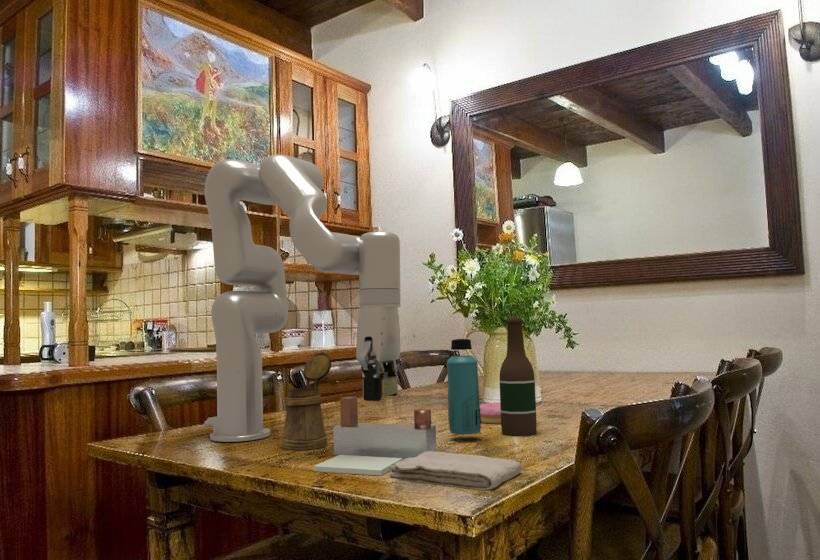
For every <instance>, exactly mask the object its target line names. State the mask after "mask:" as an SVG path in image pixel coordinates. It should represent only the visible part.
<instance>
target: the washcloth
mask: <svg viewBox="0 0 820 560" xmlns="http://www.w3.org/2000/svg"><path fill="white" fill-rule="evenodd" d="M390 469H391V470H390V471H388V472H389V473H388V475H389V477H391V478H395V479H397V480H404V481H410V482H417V483H424V484H430V485H431V484H433V485H439V486H447V487H456V488H457V487H458V488H463V489H464V488H465V489H472V490H479V491H489V490H494V489H495V488H497V487H499V486H500V485H501V484H503V483H504V482H507V481H510V480H512V479H513V478H515V477H517V476H518V475H519V474H520V473H521V472H522V465H521V463H520V462H518V461H517V460H513V459H509V458H507V459H506V458H500V457H499V458H498V457H489V456H484V455H475V454H466V453H465V454H463V453H454V452H452V453H451V452H450V453H449V452H444V451H436V452H434V451H429V452H424V453H422V454H419V455H418V456H417V457H414V458H403V460H402V461H400V462H397V463H395V465H391V466H390Z"/></svg>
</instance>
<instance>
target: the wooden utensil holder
mask: <svg viewBox="0 0 820 560" xmlns="http://www.w3.org/2000/svg"><path fill="white" fill-rule="evenodd" d="M332 364H333V363H332V359H331V357H330V356H329V355H328V354H327V353H326V352H324V351H321V352H319V353H316V354H315V355H313V356H312V357H310V358H308V360H307V361H306V363H305V365H304V367H303V376H304V378H305V379H306V381H307V382H306V386H305V387H304V388H303V387H301V388H300V387H299V388H298V387H296V388H288V390H287V395H286V397H285V405H286V410H285V411H286V412H285V419H284V421H285V422H284V430H283V437H282V440H281V441H282V442H281V448H282V449H284V450H289V451H309V450H316V449H321V448H325V447H326V446H327V445H328V437H327V434H326V432H325V425H324V418H323V411H322V405H321V404H322V397H321V396H322V395H321V394H320V389H319V385H320V382H321V380H324V379H325V378H326V377H327V376H328V374H329V373H330V371H331V369H332V368H331V367H332Z"/></svg>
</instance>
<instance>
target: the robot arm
mask: <svg viewBox="0 0 820 560" xmlns="http://www.w3.org/2000/svg"><path fill="white" fill-rule="evenodd" d="M323 186H324V177H323V174H322V171H321V170H320V169H319V167H317V165H316V164H314V163H313V162H311V161H308V160H304V159H301V158H297V157H294V156H290V155H288V154H287V155H286V154H278V153H277V154H272V155H269V156H267V157H265V158H264V159H263V160H261V162H260V164H257V163H253V162H250V161H246V160H242V159H241V160H240V159H232V158H231V159H222V160H219V161H217V162H216V163H215V164H213V166H211V168H210V170H209V172H208V174H207V175H206V179H205V184H204V199H205V203H206V204H205V205H206V208H207V212H208V216H209V220H210V226H211V238H212V249H213V260H214V269H215V275H216V277H217V279H218V281H220V282H221V283H223V284H226V285H230V286H239V287H240V286H243V287H247V286H249V287H253V290H229V291H225V292H223V293H221V294H219V295H218V296H217V297H216V298H215V299H214V301H213V303H212V305H211V310H210V311H211V312H210V315H211V316H210V317H211V322H212V327H213V332H214V339H215V348H216V351H215V353H216V400H217V401H216V407H217V408H216V411H217V412H216V415H217V416H212V417H210V416H209V417H207V419H206V420H205V421H204V423H203V426H204V427H206V428H212V429H213V430H212V432H210V434H209V439H210V440H211V441H213V442H219V443H220V442H222V443H237V442H246V441H247V442H249V441H255V440H261V439H265V438H268V437H269V436H271V429H270V428H269V427H268V428H267V427H264V416H263V415H264V412H263V411H264V406H263V405H264V404H263V402H264V400H263V399H264V398H263V396H264V395H263V354H262V349H261V346H260V344H259V342H258V340H257V338H256V336H255V335H256V334H258V335H260V334H272V333H277V332H278V331H280V330H282V329H283V328H284V327H285V324H286V323H287V319H288V315H289V308H288V307H289V306H288V295H287V293H288V292H287V285H286V275H285V273H286V272H285V266H284V262H283V259H282V257H281V255H280V253H278V251H277V250H276V249H274V248H273V247H270V246H267V245H263V244H255V243H254V240H253V234H252V225H251V221H250V218H249V216H248V214H247V212H246V210H245V209H244V207H243V205H242V204H241V202H240V201H245V202H249V203H250V202H251V203H255V204H260V205H267V206H279V207H280V208H281V210H282V211H283V212H284V213H285V215H286V216H287V217H288V218H289V224H288V225H289V226H288V227H289V235H290V239H291V241H292V244H293V246H294V247H295V248H296V249H297V251H298V252H299V254H300V255H301V256H302V257H303V259H305V260H306V262H307V263H308V264H309V265H310V266H311V267H312V268H315V270H318V271H320V272H321V273H327V274H330V273H331V274H343V275H354V276H355V275H357V276H358V275H359V280H358V281H359V282H358V283H359V290H358V291H359V296H358V298H359V303H358V304H359V311H358V317H357V323H356V324H357V325H356V326H357V328H356V344H355V345H356V347H355V348H356V349H355V350H356V351H355V358H356V361H358V362H359V364H360V368H361V371H362V372H361V376H362V397H363V401H367V402H380V401H381V400H382V397H381V378H378V377H379V372H388V376H397V377H398V371H399V370H398V365H399V359H400V356H401V332H400V331H401V330H400V327H401V326H400V317H399V308H401V242H400V237H399V236H398V235H397V234H396V233H394V232H389V231H370V232H366V233H362V234H361V236H359V235H351V234H347V233H340V232H332V231H331V230H329V229H328V228H327V227H326V226H325V224H323V222H321V220H320V218H321V217H322V216H323V214H324V213H325V211H326V209H327V207H328V200H327V197H326V195H325V193H324V192H323V191H322V190H323ZM397 395H398V393H395V394H392V395H389V396H388V397H396V396H397Z"/></svg>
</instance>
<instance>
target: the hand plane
mask: <svg viewBox="0 0 820 560" xmlns="http://www.w3.org/2000/svg"><path fill="white" fill-rule="evenodd" d="M339 400H340V406H339V407H340V408H339V409H340V424H337V425H335V426H333V430H332V431H333V433H332V434H333V455H334V456H338V455H352V456H370V457H389V458H403V459H406V458H414V457H417V456H418V455H419V454H422V453H424V452H429V451H434V452H437V429H436V428H437V427H436V425H434V424H433V425H432V410H431V409H430V408H419V409H418V408H417V409H413V423H414V424H402V423H401V424H399V423H378V422H377V423H374V422H373V423H371V422H359V421H358V420H359V416H358V415H359V413H358V396H345V397H340V398H339Z"/></svg>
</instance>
